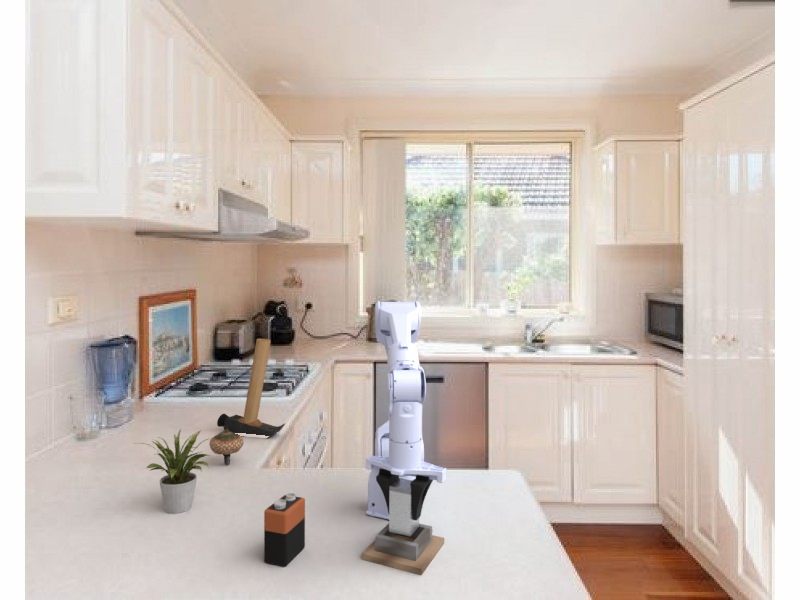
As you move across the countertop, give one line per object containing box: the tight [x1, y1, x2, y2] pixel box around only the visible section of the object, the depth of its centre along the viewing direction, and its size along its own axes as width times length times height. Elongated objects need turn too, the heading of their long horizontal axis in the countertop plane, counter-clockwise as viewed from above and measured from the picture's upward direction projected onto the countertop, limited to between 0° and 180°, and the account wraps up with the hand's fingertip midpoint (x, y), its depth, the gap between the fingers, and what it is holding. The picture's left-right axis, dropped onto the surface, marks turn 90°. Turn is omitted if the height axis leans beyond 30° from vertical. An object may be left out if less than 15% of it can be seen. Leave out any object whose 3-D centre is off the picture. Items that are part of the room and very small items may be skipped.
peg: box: [388, 478, 420, 536], centre depth 89 cm, size 4×4×8 cm
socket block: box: [361, 522, 445, 576], centre depth 89 cm, size 11×11×4 cm
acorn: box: [209, 427, 245, 466], centre depth 129 cm, size 8×8×10 cm
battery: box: [263, 492, 306, 567], centre depth 87 cm, size 4×7×10 cm, turn 162°
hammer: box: [216, 338, 286, 438], centre depth 154 cm, size 20×5×30 cm, turn 75°
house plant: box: [133, 428, 212, 515], centre depth 103 cm, size 14×14×16 cm
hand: (404, 515), depth 89 cm, fingers closed on peg, 4 cm apart
